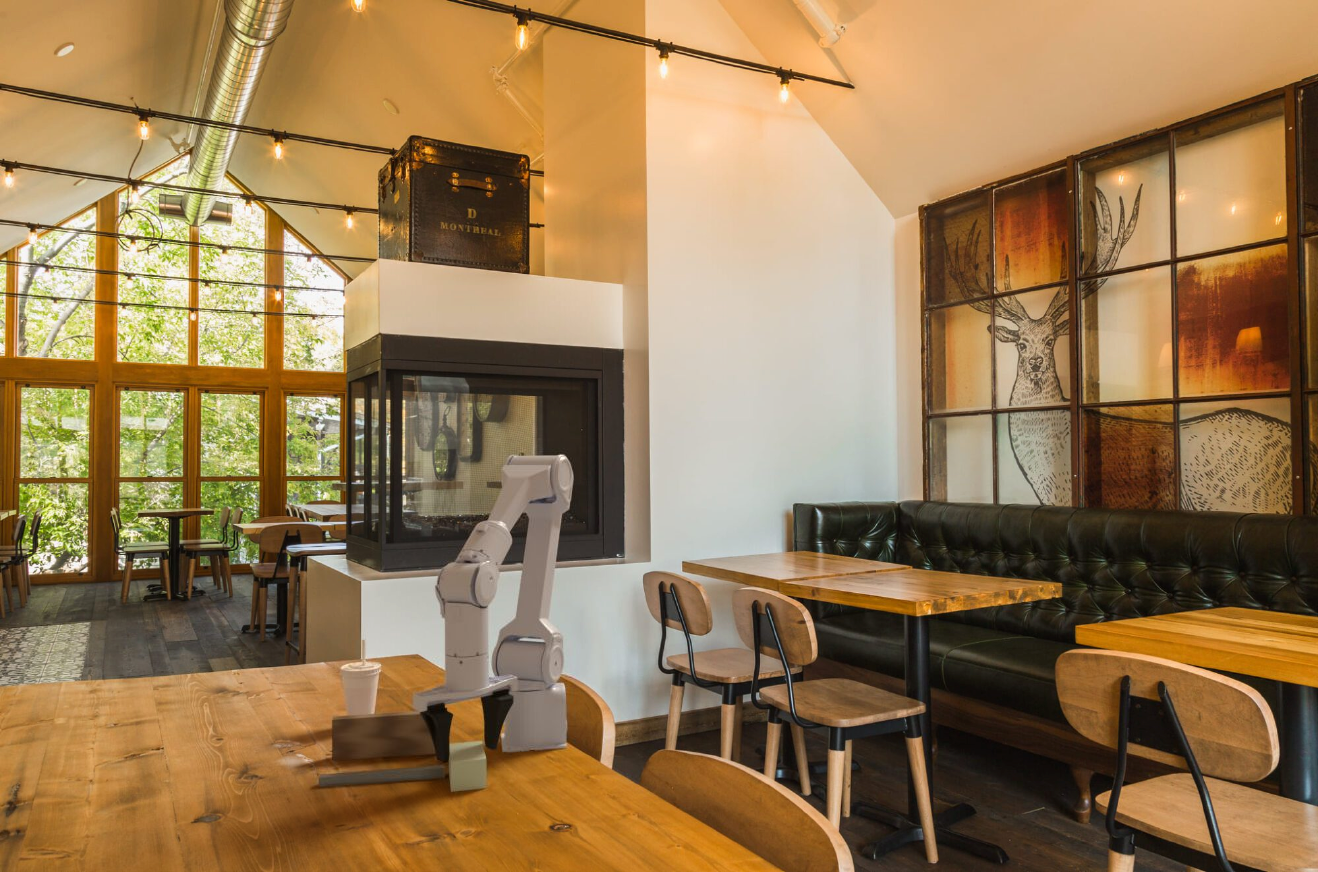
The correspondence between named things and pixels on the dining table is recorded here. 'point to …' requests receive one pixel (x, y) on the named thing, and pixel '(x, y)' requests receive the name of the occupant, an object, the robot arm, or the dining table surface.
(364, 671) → the smoothie
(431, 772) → the strip
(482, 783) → the cabinet block
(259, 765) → the dining table surface
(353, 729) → the wall board
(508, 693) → the robot arm
